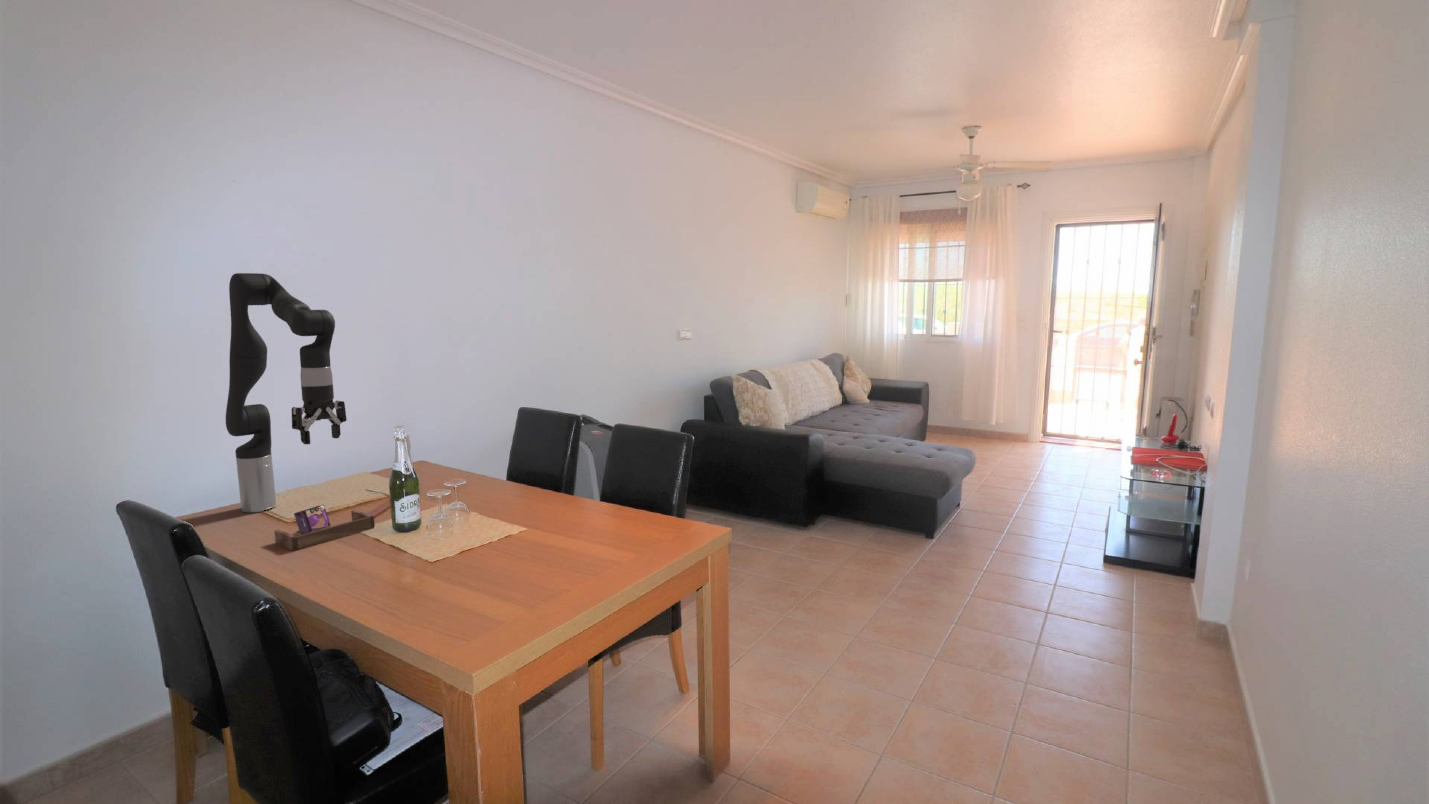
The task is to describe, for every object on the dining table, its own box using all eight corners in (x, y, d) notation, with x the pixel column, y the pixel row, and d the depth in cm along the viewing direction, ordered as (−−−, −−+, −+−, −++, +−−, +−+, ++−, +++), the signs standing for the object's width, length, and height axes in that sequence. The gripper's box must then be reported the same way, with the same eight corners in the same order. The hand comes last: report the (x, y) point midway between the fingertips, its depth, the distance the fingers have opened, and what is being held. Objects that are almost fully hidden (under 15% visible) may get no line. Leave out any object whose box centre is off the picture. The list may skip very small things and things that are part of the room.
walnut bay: (275, 542, 183) (274, 530, 183) (355, 520, 201) (354, 509, 201) (294, 550, 178) (293, 538, 177) (374, 527, 196) (373, 516, 195)
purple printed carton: (296, 512, 188) (325, 503, 197) (284, 516, 190) (314, 507, 199) (303, 535, 188) (332, 525, 197) (292, 538, 191) (321, 528, 199)
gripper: (332, 379, 191) (336, 434, 193) (282, 385, 178) (287, 444, 180) (350, 381, 187) (353, 437, 190) (300, 387, 175) (305, 447, 177)
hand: (321, 441), depth 185 cm, fingers open, 8 cm apart
